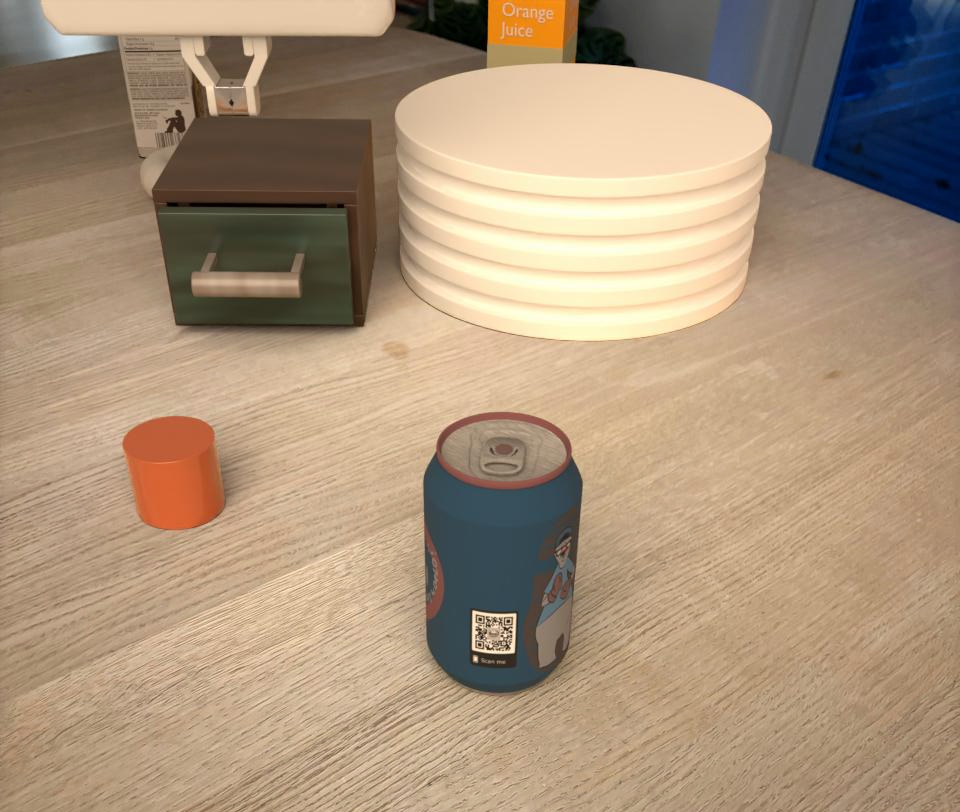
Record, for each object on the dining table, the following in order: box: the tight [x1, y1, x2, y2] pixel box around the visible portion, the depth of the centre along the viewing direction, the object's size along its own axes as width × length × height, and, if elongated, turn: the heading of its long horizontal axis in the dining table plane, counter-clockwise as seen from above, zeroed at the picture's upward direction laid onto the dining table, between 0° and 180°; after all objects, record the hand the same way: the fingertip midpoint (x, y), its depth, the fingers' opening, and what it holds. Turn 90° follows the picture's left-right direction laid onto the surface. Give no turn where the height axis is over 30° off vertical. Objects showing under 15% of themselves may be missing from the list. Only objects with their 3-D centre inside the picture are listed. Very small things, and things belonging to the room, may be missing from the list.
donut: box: [139, 144, 178, 199], centre depth 101 cm, size 10×4×10 cm
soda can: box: [422, 411, 584, 696], centre depth 51 cm, size 7×7×12 cm
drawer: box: [158, 203, 354, 325], centre depth 81 cm, size 20×13×8 cm, turn 0°
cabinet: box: [152, 117, 378, 327], centre depth 85 cm, size 16×14×10 cm
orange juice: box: [486, 0, 580, 69], centre depth 112 cm, size 8×9×20 cm
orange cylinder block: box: [121, 415, 226, 531], centre depth 63 cm, size 5×5×4 cm
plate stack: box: [394, 62, 773, 342], centre depth 88 cm, size 28×28×12 cm
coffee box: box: [116, 36, 208, 148], centre depth 108 cm, size 9×6×16 cm
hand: (235, 113), depth 69 cm, fingers closed
